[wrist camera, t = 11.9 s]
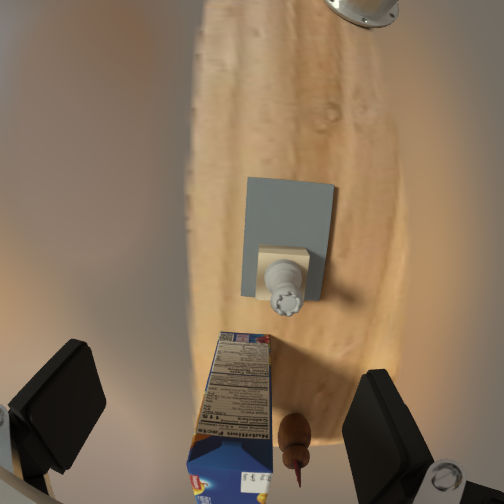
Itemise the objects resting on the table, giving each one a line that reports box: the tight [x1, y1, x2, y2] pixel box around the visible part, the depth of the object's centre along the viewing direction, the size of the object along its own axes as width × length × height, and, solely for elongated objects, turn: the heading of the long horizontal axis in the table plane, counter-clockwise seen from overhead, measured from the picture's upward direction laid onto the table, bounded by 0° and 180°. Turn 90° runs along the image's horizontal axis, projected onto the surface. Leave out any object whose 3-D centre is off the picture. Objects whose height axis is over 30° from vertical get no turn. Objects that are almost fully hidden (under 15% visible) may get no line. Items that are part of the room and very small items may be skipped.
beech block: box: [255, 244, 310, 300], centre depth 36 cm, size 6×6×4 cm
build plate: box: [241, 177, 334, 301], centre depth 37 cm, size 16×11×1 cm
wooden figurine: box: [278, 414, 311, 487], centre depth 40 cm, size 7×6×15 cm
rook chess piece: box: [264, 259, 304, 317], centre depth 30 cm, size 4×4×8 cm
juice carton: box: [186, 332, 273, 504], centre depth 32 cm, size 12×8×24 cm, turn 177°
